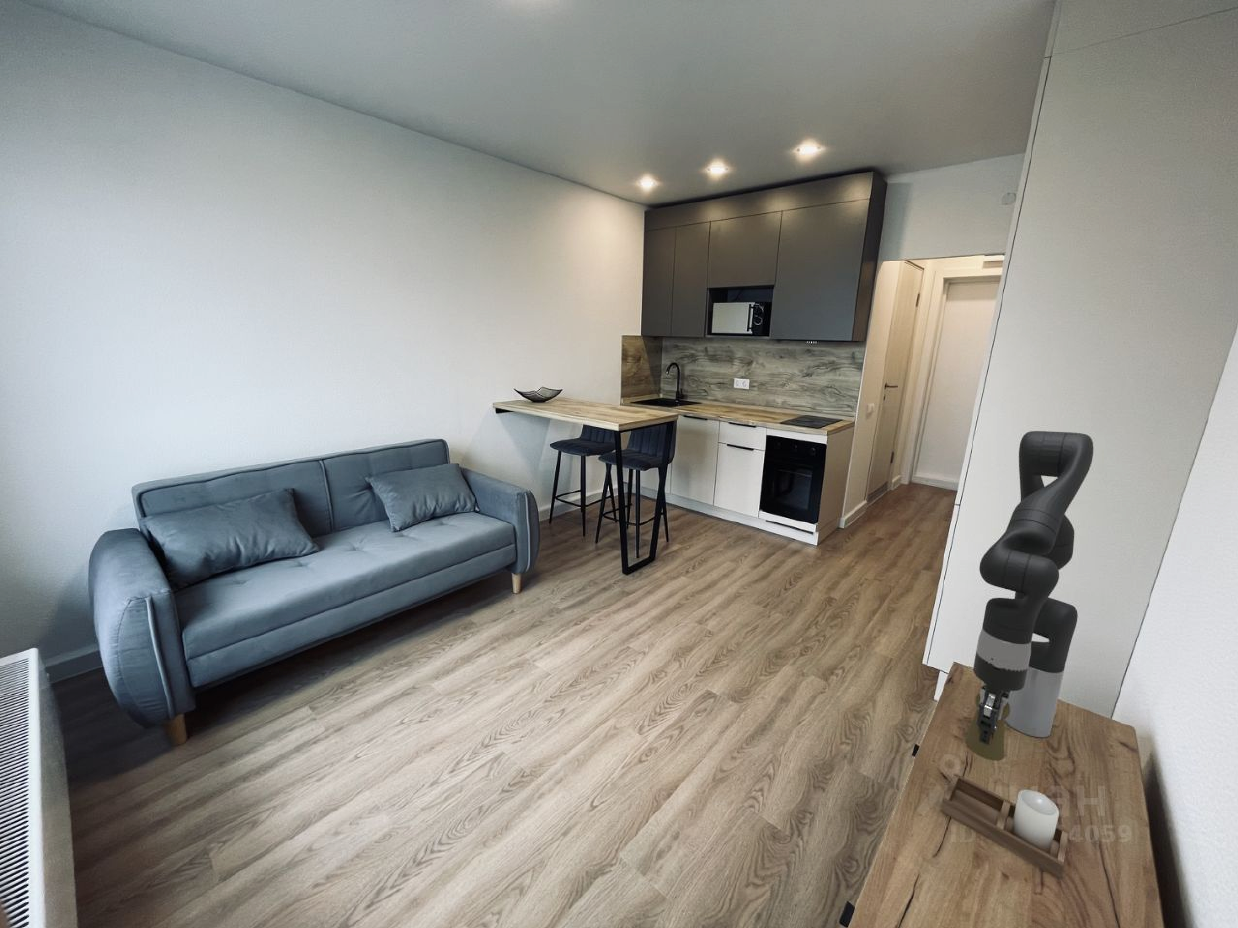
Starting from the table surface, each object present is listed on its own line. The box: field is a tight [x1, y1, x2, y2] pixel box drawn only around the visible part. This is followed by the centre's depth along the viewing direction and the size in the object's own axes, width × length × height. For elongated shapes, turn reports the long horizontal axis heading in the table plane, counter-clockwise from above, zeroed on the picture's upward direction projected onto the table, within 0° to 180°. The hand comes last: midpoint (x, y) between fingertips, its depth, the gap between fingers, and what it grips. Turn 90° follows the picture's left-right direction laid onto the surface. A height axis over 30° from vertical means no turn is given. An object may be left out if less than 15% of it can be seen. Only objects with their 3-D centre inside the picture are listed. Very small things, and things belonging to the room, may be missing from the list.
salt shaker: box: [1011, 789, 1060, 855], centre depth 88 cm, size 6×6×10 cm
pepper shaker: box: [964, 692, 1010, 762], centre depth 91 cm, size 6×6×11 cm
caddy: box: [940, 773, 1069, 880], centre depth 92 cm, size 9×18×4 cm, turn 44°
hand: (986, 737), depth 92 cm, fingers closed on pepper shaker, 3 cm apart
